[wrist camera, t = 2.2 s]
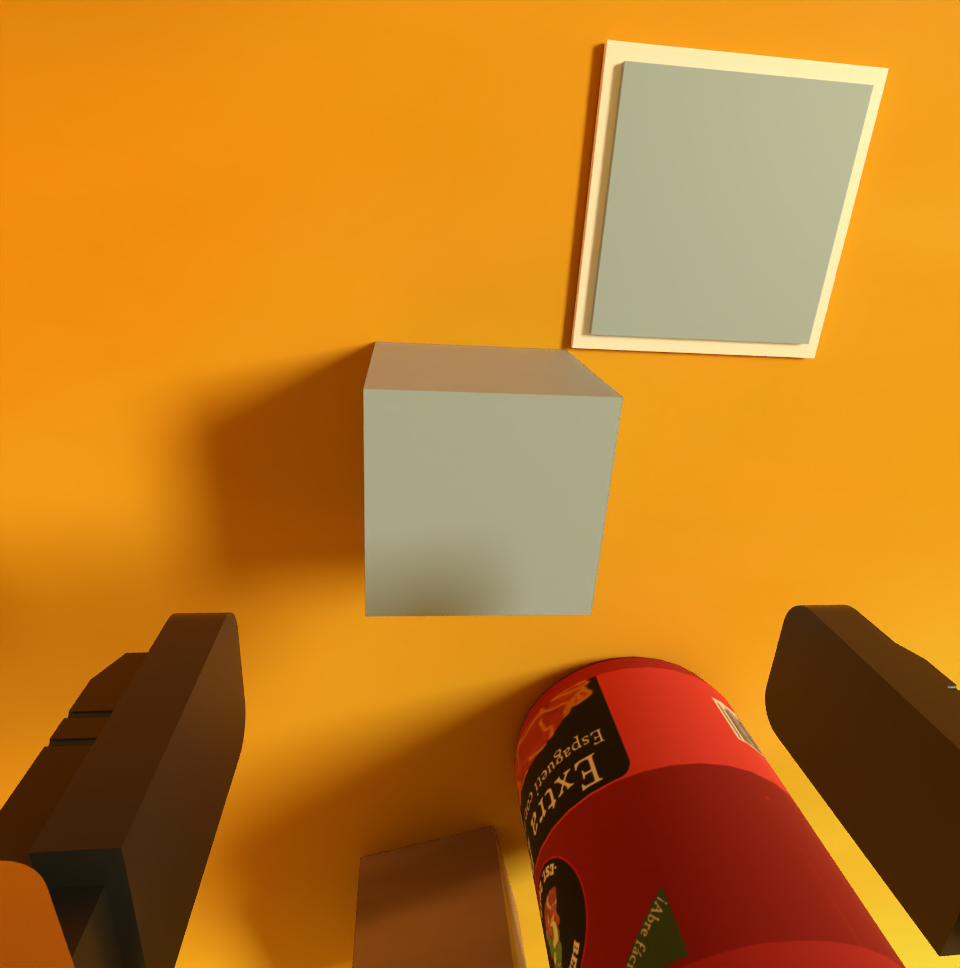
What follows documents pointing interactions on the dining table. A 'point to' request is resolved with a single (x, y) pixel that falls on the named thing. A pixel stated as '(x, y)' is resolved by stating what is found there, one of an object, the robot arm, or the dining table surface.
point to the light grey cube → (484, 480)
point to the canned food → (673, 834)
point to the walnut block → (438, 907)
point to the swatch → (719, 199)
